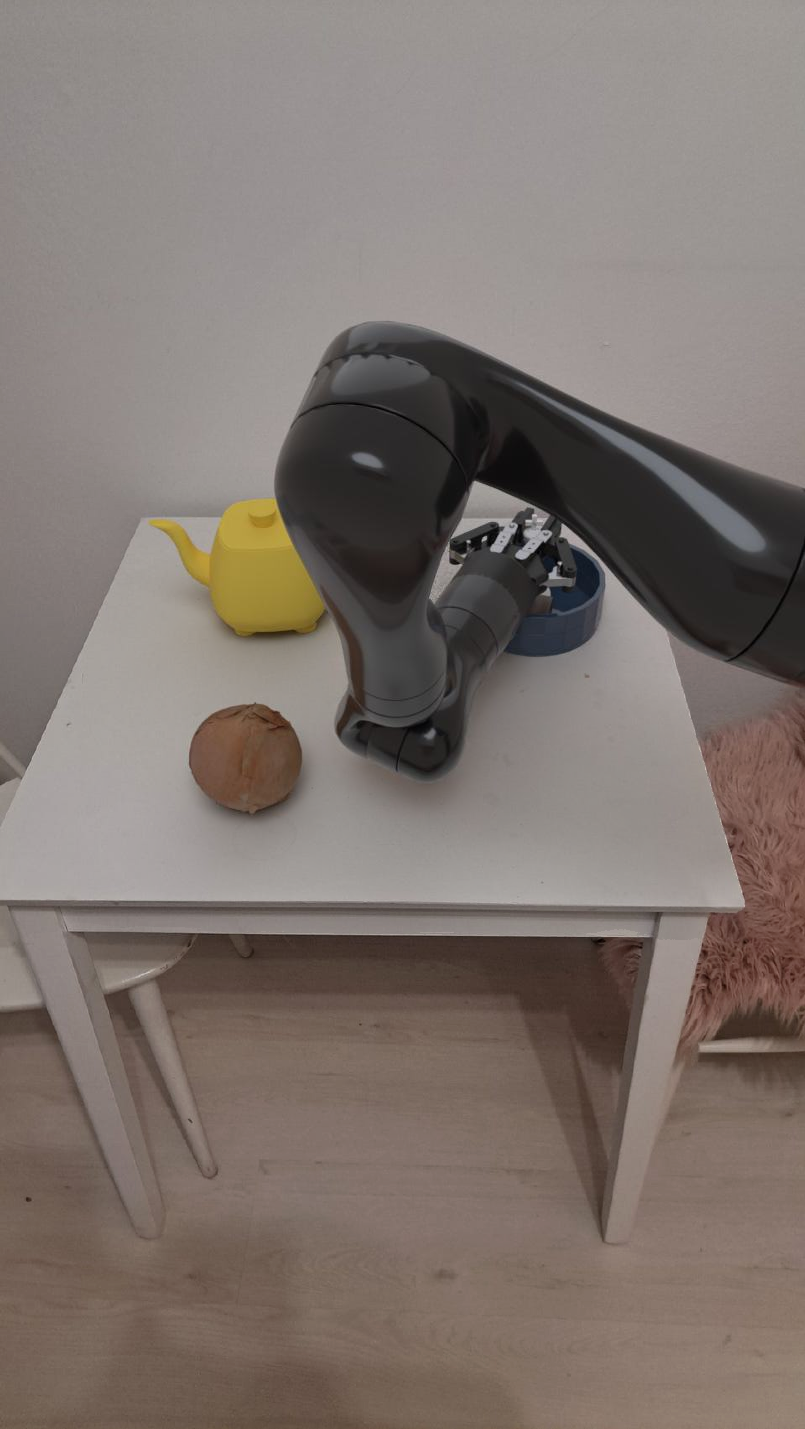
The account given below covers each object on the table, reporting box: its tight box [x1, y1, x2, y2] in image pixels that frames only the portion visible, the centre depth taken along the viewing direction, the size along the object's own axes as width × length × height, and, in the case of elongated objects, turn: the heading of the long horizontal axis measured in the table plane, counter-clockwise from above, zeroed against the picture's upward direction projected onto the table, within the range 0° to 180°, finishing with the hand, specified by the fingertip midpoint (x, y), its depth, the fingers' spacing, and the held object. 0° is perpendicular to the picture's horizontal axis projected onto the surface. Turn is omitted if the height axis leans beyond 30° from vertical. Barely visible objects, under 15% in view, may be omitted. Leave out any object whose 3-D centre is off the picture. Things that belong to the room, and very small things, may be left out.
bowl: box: [503, 539, 607, 657], centre depth 98 cm, size 14×14×5 cm
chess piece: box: [523, 513, 551, 596], centre depth 96 cm, size 5×5×10 cm
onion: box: [188, 701, 303, 815], centre depth 79 cm, size 10×9×10 cm
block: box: [527, 595, 553, 615], centre depth 95 cm, size 4×4×4 cm
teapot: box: [147, 498, 326, 637], centre depth 97 cm, size 14×20×13 cm
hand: (542, 518), depth 95 cm, fingers closed on chess piece
